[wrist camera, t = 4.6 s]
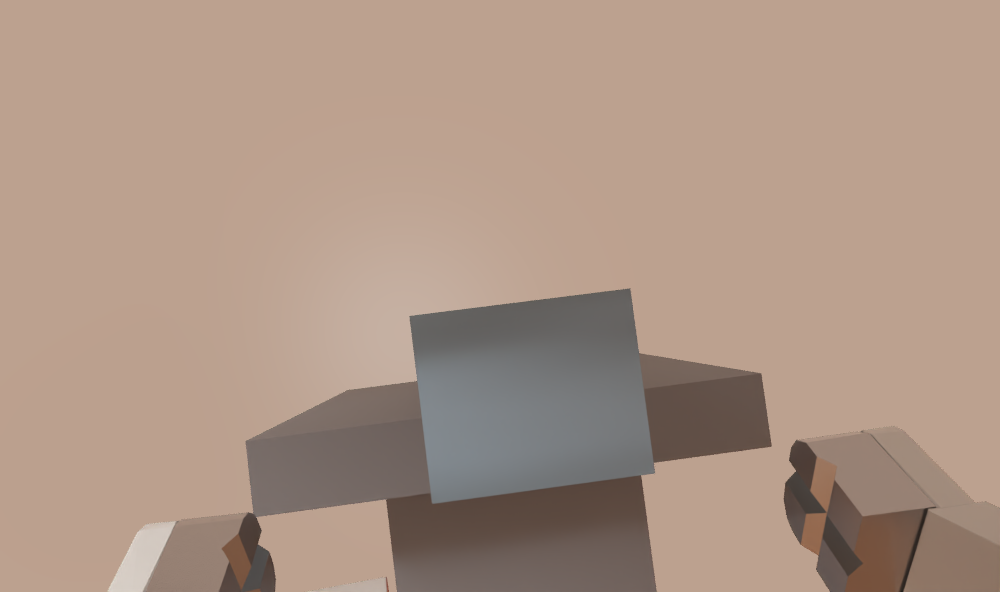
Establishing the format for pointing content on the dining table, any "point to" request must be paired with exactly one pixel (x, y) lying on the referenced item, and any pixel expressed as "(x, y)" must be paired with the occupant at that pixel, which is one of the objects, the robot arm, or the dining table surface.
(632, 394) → the block
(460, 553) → the plinth
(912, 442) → the robot arm
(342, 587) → the small box
